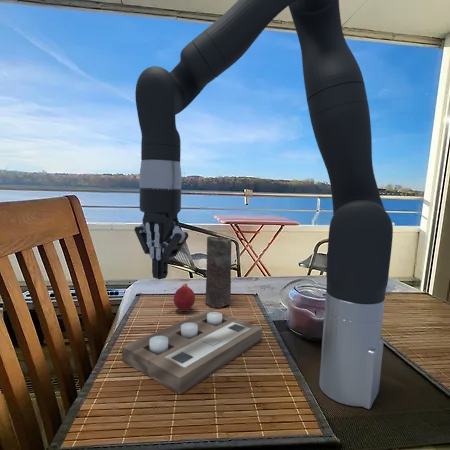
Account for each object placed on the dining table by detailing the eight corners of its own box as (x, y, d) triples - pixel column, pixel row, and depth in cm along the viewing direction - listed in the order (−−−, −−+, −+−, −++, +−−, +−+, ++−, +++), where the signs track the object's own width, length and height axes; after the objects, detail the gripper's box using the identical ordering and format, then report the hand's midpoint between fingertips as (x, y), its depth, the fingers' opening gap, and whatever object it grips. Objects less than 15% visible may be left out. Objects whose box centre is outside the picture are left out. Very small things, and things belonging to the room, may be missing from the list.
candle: (202, 300, 100) (204, 235, 97) (225, 298, 102) (228, 234, 99) (209, 309, 92) (211, 239, 90) (233, 307, 94) (236, 239, 92)
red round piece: (190, 316, 87) (191, 287, 86) (170, 314, 88) (170, 285, 87) (197, 309, 92) (197, 281, 91) (177, 306, 94) (178, 279, 93)
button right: (225, 324, 78) (225, 314, 78) (215, 329, 75) (215, 319, 75) (213, 320, 80) (213, 310, 80) (203, 325, 77) (203, 314, 77)
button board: (261, 340, 75) (262, 326, 75) (179, 394, 55) (180, 376, 54) (208, 320, 85) (209, 308, 84) (122, 360, 64) (122, 344, 64)
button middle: (200, 336, 71) (201, 325, 71) (189, 342, 68) (189, 331, 68) (189, 331, 73) (189, 321, 73) (177, 337, 71) (177, 326, 70)
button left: (171, 351, 65) (172, 339, 64) (157, 358, 62) (157, 346, 61) (159, 345, 67) (159, 334, 66) (145, 352, 64) (145, 340, 64)
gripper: (201, 187, 59) (198, 281, 61) (153, 185, 67) (152, 268, 69) (170, 187, 53) (168, 290, 55) (121, 185, 61) (121, 275, 64)
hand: (159, 277), depth 62 cm, fingers closed
